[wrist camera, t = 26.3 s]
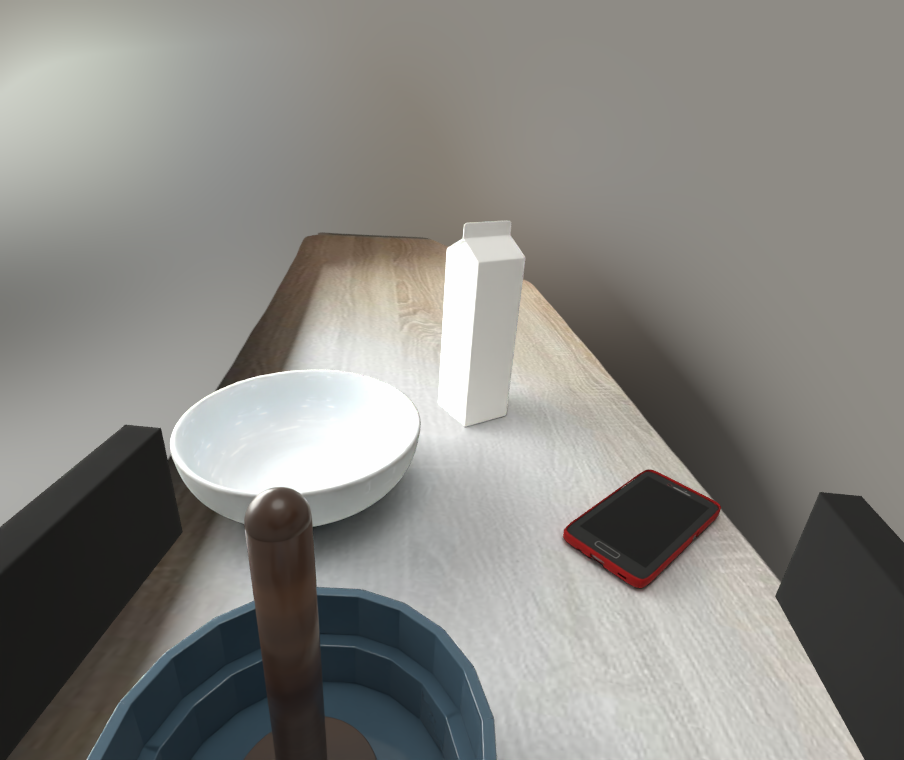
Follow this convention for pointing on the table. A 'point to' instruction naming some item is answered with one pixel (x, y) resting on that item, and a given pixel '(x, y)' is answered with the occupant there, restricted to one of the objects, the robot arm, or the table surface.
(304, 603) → the paper towel holder
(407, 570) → the table surface
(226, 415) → the serving bowl
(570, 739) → the table surface
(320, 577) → the table surface
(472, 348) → the milk
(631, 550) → the cell phone
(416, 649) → the mixing bowl
